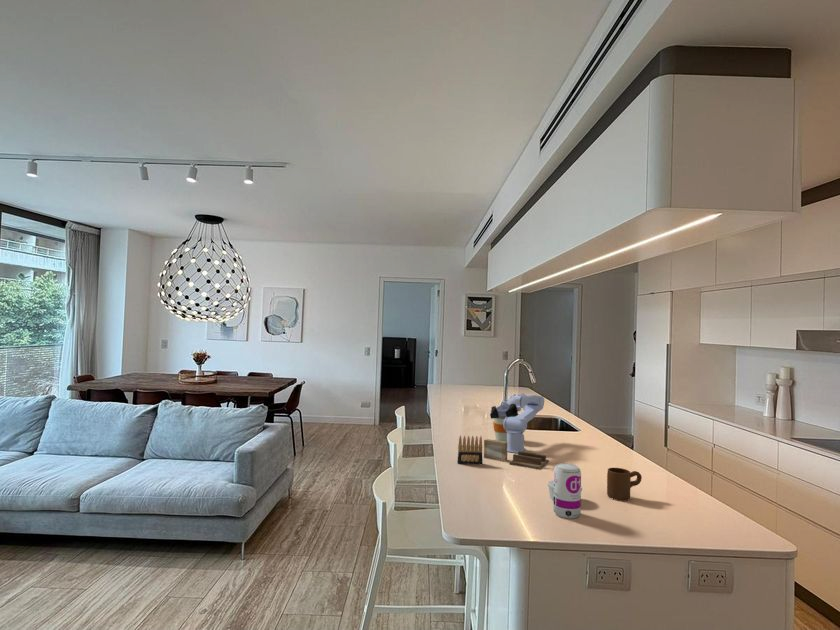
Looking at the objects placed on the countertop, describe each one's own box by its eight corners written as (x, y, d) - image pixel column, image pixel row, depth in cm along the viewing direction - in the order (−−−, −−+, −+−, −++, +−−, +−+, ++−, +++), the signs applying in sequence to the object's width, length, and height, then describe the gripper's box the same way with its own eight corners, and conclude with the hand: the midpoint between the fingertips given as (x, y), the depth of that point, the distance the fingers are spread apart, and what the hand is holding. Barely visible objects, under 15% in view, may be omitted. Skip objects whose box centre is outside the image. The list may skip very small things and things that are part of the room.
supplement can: (585, 518, 150) (586, 469, 151) (562, 520, 148) (563, 470, 148) (570, 508, 158) (571, 462, 158) (548, 510, 156) (549, 463, 156)
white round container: (588, 505, 162) (588, 489, 162) (558, 507, 159) (558, 491, 159) (570, 493, 173) (570, 478, 173) (541, 495, 170) (542, 480, 170)
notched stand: (520, 457, 221) (520, 449, 221) (548, 462, 214) (548, 454, 214) (509, 464, 209) (509, 456, 209) (539, 469, 202) (539, 461, 202)
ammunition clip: (482, 463, 209) (482, 435, 210) (482, 464, 208) (483, 436, 208) (457, 462, 210) (458, 434, 210) (457, 463, 208) (458, 435, 208)
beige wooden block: (486, 456, 221) (486, 438, 222) (507, 460, 216) (507, 442, 216) (483, 457, 219) (484, 440, 219) (504, 461, 214) (505, 443, 214)
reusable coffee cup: (495, 437, 263) (496, 409, 263) (518, 439, 258) (519, 411, 258) (489, 441, 251) (490, 412, 251) (513, 444, 246) (514, 414, 247)
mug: (635, 493, 174) (636, 467, 175) (646, 501, 167) (647, 473, 167) (603, 493, 174) (603, 467, 174) (612, 501, 166) (613, 473, 166)
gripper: (494, 400, 232) (482, 408, 220) (522, 396, 224) (511, 404, 212) (497, 414, 232) (486, 423, 220) (526, 411, 224) (515, 420, 212)
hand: (498, 415), depth 216 cm, fingers open, 7 cm apart
